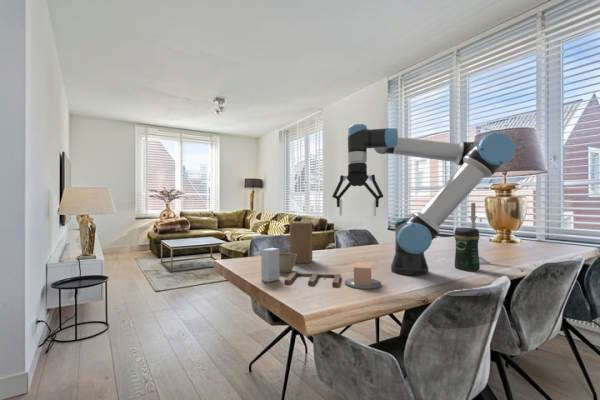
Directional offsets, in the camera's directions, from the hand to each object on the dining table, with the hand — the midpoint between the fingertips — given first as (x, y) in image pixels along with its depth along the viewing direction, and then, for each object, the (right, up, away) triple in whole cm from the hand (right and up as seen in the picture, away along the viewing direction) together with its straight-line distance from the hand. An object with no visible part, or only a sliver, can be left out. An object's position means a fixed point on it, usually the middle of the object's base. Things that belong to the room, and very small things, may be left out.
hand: (357, 215), depth 123 cm
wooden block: (-23, -25, +29) cm, 45 cm away
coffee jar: (+51, -25, +12) cm, 58 cm away
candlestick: (+64, -25, +29) cm, 75 cm away
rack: (-18, -25, -7) cm, 31 cm away
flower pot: (-30, -25, +9) cm, 40 cm away
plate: (0, -25, -12) cm, 27 cm away
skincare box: (-35, -25, -6) cm, 43 cm away
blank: (0, -24, -11) cm, 26 cm away
